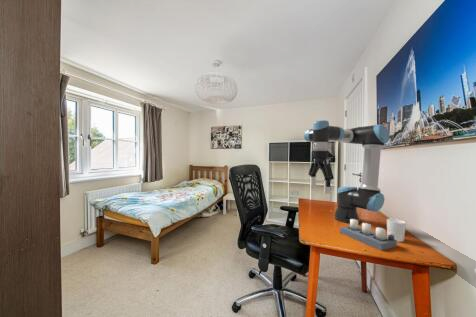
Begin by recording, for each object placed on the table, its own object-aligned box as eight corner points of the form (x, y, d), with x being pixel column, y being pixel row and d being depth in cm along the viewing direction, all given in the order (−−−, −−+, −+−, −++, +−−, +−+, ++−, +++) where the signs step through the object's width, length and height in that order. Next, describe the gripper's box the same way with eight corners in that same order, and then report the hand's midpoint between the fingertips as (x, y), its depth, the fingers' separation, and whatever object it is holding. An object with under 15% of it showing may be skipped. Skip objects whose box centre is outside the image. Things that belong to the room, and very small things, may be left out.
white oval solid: (365, 231, 105) (365, 222, 104) (372, 234, 101) (372, 225, 101) (360, 232, 103) (360, 223, 103) (367, 235, 99) (367, 225, 99)
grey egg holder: (354, 230, 114) (354, 219, 114) (396, 246, 94) (396, 233, 94) (340, 232, 110) (340, 222, 110) (381, 250, 89) (381, 237, 89)
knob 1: (352, 227, 111) (353, 218, 111) (359, 229, 107) (359, 220, 107) (348, 227, 109) (348, 219, 109) (354, 230, 106) (355, 221, 106)
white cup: (405, 239, 102) (406, 221, 102) (404, 244, 97) (405, 224, 97) (387, 234, 108) (387, 217, 108) (385, 239, 102) (385, 220, 102)
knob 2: (378, 236, 98) (378, 227, 98) (387, 239, 94) (387, 229, 94) (373, 237, 97) (374, 228, 96) (382, 241, 93) (382, 230, 93)
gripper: (302, 150, 112) (302, 186, 112) (327, 149, 87) (326, 195, 88) (315, 151, 113) (314, 186, 113) (342, 149, 88) (341, 195, 88)
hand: (319, 190), depth 100 cm, fingers open, 13 cm apart
